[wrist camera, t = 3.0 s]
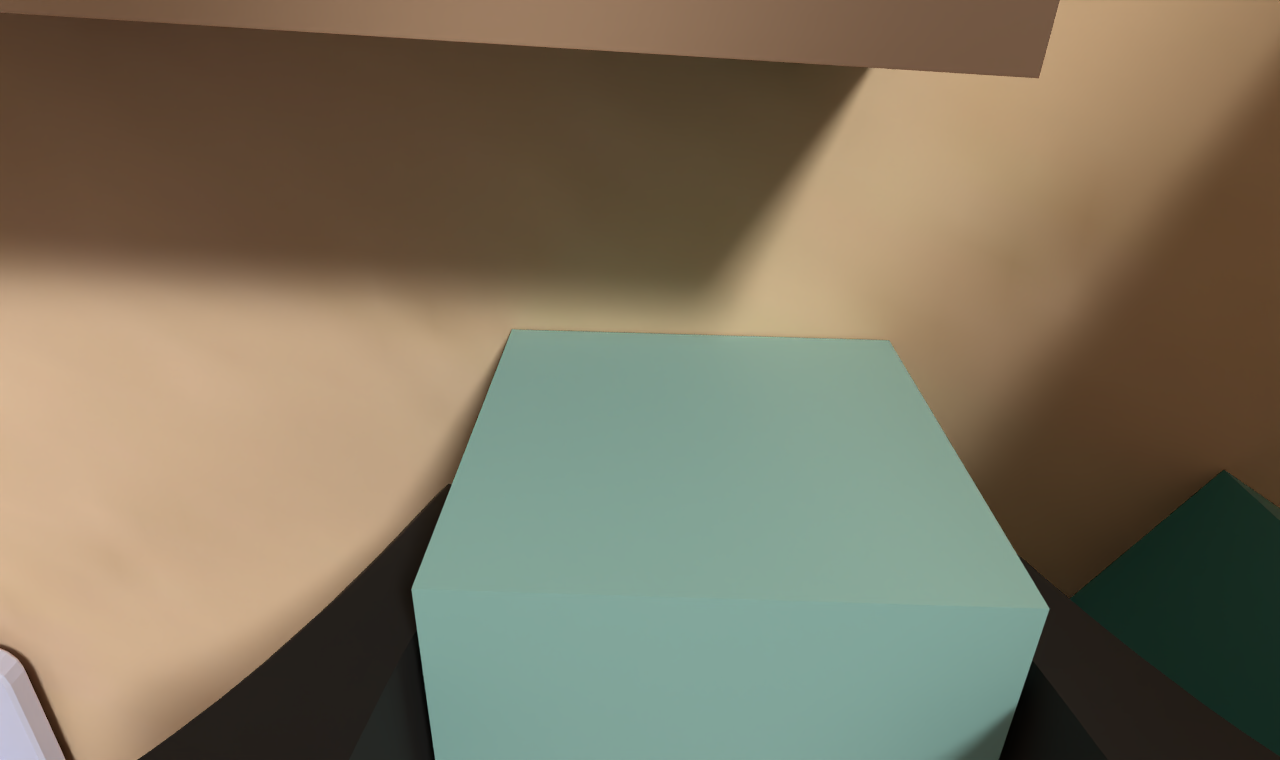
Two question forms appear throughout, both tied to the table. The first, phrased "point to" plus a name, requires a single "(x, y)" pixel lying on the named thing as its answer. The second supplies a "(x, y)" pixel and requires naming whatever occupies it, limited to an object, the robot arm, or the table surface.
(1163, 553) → the bracket
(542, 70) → the table surface
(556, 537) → the teal cube
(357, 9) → the walnut block
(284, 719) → the robot arm
